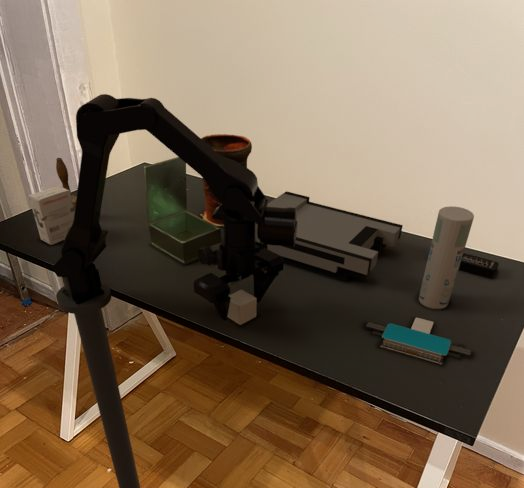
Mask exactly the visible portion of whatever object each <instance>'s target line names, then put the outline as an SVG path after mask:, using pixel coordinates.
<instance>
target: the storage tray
mask: <svg viewBox="0 0 524 488" xmlns="http://www.w3.org/2000/svg"><path fill="white" fill-rule="evenodd" d="M148 227H149V236H150V243H151V246H152V247H154V248H155V249H157V250H159V251H161V253H164V255H165V254H166V255H167V256H169V257H171V258H172V259H174V260H176V261H177V262H179V263H180V264H182V265H183V266H186V265H188V264H190V263H194V262H196V261H197V260H199V257H198V249H199V248H201V247H204V246H206V247H207V246H210V247H211V246H213V245H215V244H218V243H222V231H221V230H222V229H221V227H220V226H215V225H213V224H211V223H209V222H207V221H205V220H203V218H201V217H199V216H197V215H195V214H193V213H191V212H190V211H187V210H185V211H182V212H179V213H176V214H173V215H171V216H168V217H165V218H162V219H159V220H156V221H154V222H151V223H148Z"/></svg>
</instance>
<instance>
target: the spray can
mask: <svg viewBox="0 0 524 488" xmlns="http://www.w3.org/2000/svg"><path fill="white" fill-rule="evenodd" d="M436 218H437V219H436V222H435V227H434V230H433V235H432V238H431V239H432V240H431V244H430V248H429V251H428V257H427V260H426V265H425V269H424V274H423V278H422V282H421V286H420V291H419V295H418V302H419V303H420V304H421V305H422V306H424V307H425V308H429V309H432V310H441V309H445V308H446V307H448V305H449V303H450V300H451V297H452V294H453V293H452V292H453V290H454V286H455V283H456V281H457V280H456V279H457V275H458V272H459V271H460V270H459V266H460V263H461V259H462V256H463V253H465V250H466V249H465V248H466V245H467V242H468V239H469V236H470V235H469V234H470V232H471V230H472V229H471V228H472V226H473V221H474V219H475V214H474V213H473V211H471V210H469V209H468V208H465V207H462V206H461V207H460V206H444V207H441V208H440V209H438V213H437V217H436Z"/></svg>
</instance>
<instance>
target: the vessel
mask: <svg viewBox="0 0 524 488" xmlns="http://www.w3.org/2000/svg"><path fill="white" fill-rule="evenodd" d="M200 138H201V139H202V140H203V141H204V142H205V143H207V144H208V145H209V146H210V147H211V148H212V149H214V150H215V151H216V152H217V153H218V154H220V155H222V156H223V157H226V158H229V159H232V160H234V161H236V162H238V163H240V164H241V165H243V166H245V167H246V168H248V159H249V156H250V154H251V153H252V149H253V145H252V141H251V140H250V139H249V138H248V137H246V136H243V135H238V134H237V135H236V134H226V133H224V134H221V133H219V134H210V135H205V136H202V137H200ZM202 184H203V193H204V200H205V210H204V211H203V213H200V214H199V215H200V217H202V219H203V220H205V221H207V222H209V223H211V224H213V225H215V226H217V227H224V220H220V219H213V218H212V215H213V213H214V211H215V209H216V208H217V207H219V206H220V205H221V202H220V201H219V200H218V199H217V198H216V196H215V195H214V194H213V193H212V191H211V190H210V188H209V186H208V184H207V182H206V181H205V180H204V178H203V177H202Z"/></svg>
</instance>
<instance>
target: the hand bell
mask: <svg viewBox="0 0 524 488" xmlns="http://www.w3.org/2000/svg"><path fill="white" fill-rule="evenodd" d="M55 168H56V169H55V171H56V173H57V176H58V179H59V180H60V182H61V185H62V187H63V188H65V189H68V190H70V193H71V198H72V202H73V206H74V211H75V206H76V197H77V195H73V194H72V191H71V188H70V184H69V171H68V168H67V165H66V163H65V162H64V160H63V158H62V157H57V158H56V163H55Z"/></svg>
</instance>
